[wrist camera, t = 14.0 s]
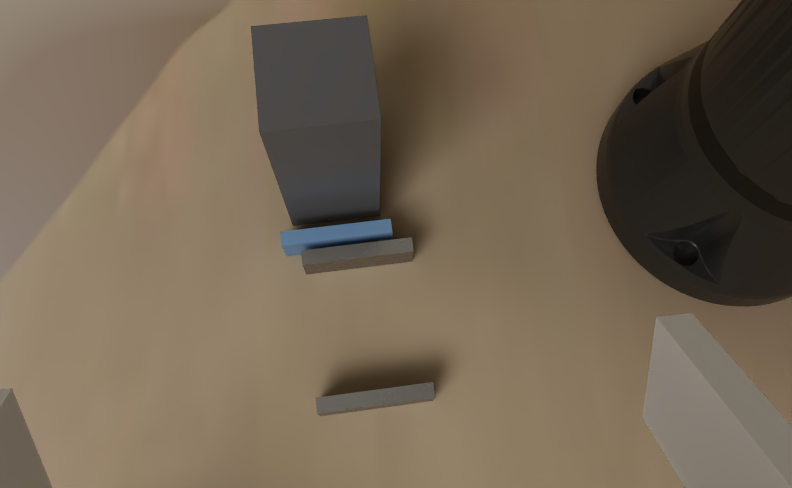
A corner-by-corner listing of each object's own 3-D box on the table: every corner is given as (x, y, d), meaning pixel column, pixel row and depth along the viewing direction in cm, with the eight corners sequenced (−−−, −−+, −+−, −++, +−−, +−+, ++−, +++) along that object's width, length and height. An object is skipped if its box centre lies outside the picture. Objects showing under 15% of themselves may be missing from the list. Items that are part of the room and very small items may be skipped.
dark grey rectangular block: (369, 137, 41) (366, 15, 30) (379, 215, 40) (381, 119, 28) (285, 146, 41) (251, 26, 29) (292, 225, 40) (259, 131, 28)
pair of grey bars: (410, 247, 39) (411, 237, 37) (432, 400, 37) (435, 397, 35) (304, 260, 39) (300, 250, 37) (320, 416, 36) (317, 413, 35)
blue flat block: (372, 108, 42) (372, 92, 40) (391, 243, 39) (392, 232, 37) (273, 119, 41) (268, 103, 39) (286, 256, 39) (281, 245, 37)
